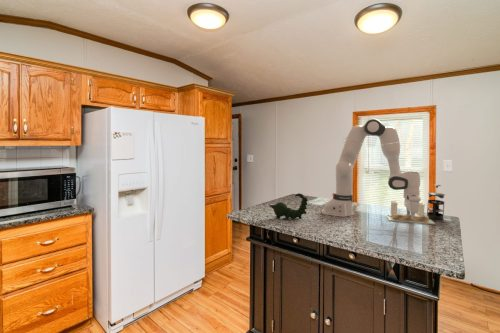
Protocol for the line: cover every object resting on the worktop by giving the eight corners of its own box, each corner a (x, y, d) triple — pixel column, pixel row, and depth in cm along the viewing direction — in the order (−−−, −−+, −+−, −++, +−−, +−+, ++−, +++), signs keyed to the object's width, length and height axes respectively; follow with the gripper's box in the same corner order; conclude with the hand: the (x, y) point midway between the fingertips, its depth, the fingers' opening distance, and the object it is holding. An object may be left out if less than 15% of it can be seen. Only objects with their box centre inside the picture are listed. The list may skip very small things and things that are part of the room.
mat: (389, 220, 174) (389, 219, 174) (386, 217, 181) (386, 216, 181) (435, 224, 166) (435, 223, 166) (431, 220, 173) (431, 219, 173)
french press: (442, 222, 170) (444, 186, 168) (424, 219, 177) (426, 185, 174) (445, 218, 179) (447, 184, 176) (428, 215, 185) (430, 182, 183)
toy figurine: (304, 219, 183) (269, 215, 187) (307, 193, 181) (271, 188, 185) (305, 224, 174) (267, 219, 178) (308, 195, 172) (270, 191, 176)
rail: (393, 219, 175) (393, 214, 175) (392, 217, 178) (392, 213, 178) (428, 221, 169) (428, 217, 169) (427, 220, 172) (427, 216, 171)
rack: (389, 216, 183) (390, 202, 182) (388, 214, 188) (388, 200, 187) (426, 219, 176) (427, 204, 175) (424, 217, 181) (424, 202, 180)
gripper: (402, 192, 183) (401, 211, 184) (409, 198, 163) (408, 220, 165) (412, 192, 181) (411, 212, 182) (421, 199, 161) (420, 221, 163)
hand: (410, 216), depth 173 cm, fingers open, 8 cm apart
